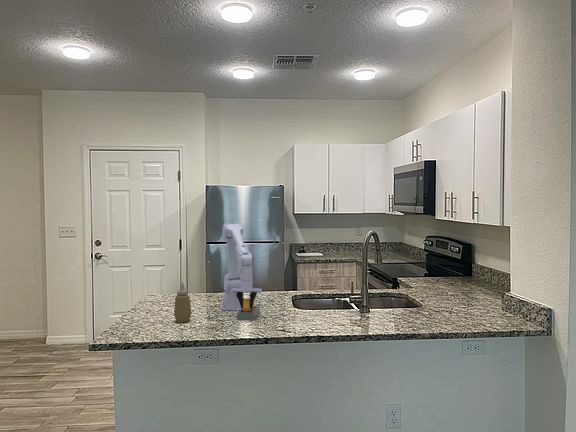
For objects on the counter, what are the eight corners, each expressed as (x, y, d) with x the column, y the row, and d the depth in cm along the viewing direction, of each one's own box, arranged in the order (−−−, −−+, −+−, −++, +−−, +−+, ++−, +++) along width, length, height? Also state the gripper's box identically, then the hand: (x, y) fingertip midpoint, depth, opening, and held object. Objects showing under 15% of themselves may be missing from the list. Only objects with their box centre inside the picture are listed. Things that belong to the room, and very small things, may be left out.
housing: (237, 319, 215) (236, 306, 215) (244, 312, 229) (243, 299, 229) (253, 320, 214) (253, 306, 214) (259, 312, 228) (259, 299, 227)
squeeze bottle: (195, 319, 217) (194, 281, 216) (185, 324, 209) (184, 284, 209) (180, 318, 220) (179, 281, 219) (170, 322, 212) (169, 284, 211)
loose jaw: (243, 310, 220) (243, 298, 220) (251, 310, 220) (251, 298, 219) (242, 312, 216) (241, 300, 216) (250, 313, 216) (250, 300, 215)
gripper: (229, 280, 214) (229, 309, 215) (259, 281, 212) (260, 310, 213) (233, 278, 221) (233, 306, 222) (262, 278, 219) (263, 306, 220)
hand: (246, 308), depth 218 cm, fingers closed on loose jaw, 4 cm apart
